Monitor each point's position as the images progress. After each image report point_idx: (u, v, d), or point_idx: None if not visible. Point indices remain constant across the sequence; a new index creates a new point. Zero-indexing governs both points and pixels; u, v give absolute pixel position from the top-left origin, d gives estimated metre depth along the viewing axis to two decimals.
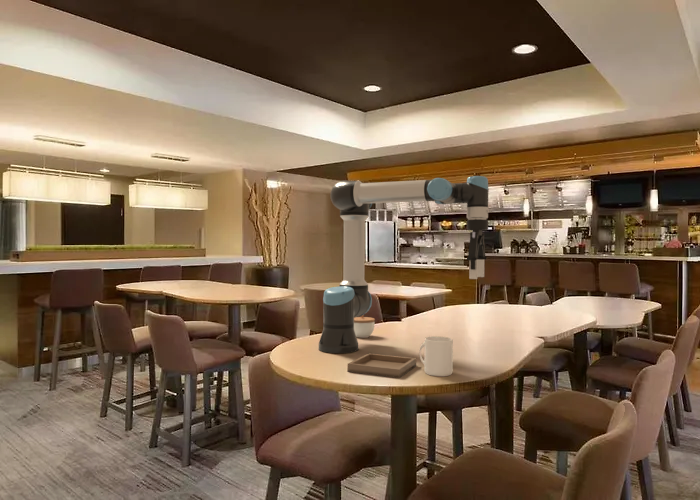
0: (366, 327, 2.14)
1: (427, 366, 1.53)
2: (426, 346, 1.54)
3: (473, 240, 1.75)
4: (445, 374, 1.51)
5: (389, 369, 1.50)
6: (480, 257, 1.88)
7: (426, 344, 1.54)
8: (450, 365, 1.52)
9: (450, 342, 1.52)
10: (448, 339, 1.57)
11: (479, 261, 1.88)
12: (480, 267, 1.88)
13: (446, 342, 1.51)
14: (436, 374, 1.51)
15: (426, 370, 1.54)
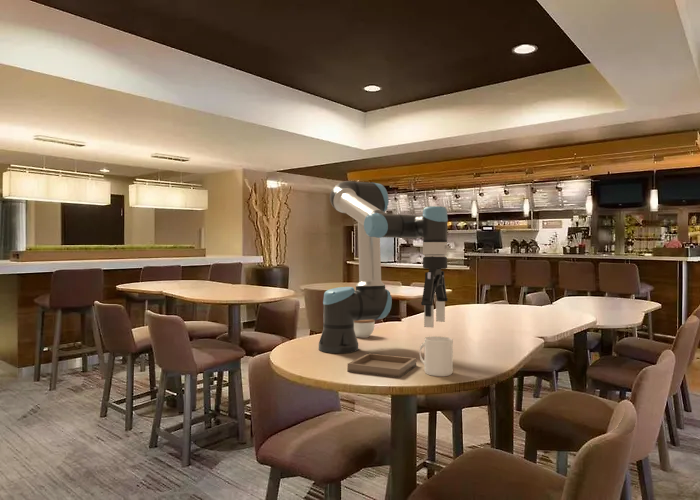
0: (366, 327, 2.14)
1: (427, 366, 1.53)
2: (426, 346, 1.54)
3: (428, 282, 1.50)
4: (445, 374, 1.51)
5: (389, 369, 1.50)
6: (440, 298, 1.63)
7: (426, 344, 1.54)
8: (450, 365, 1.52)
9: (450, 342, 1.52)
10: (448, 339, 1.57)
11: (439, 303, 1.62)
12: (440, 310, 1.62)
13: (446, 342, 1.51)
14: (436, 374, 1.51)
15: (426, 370, 1.54)
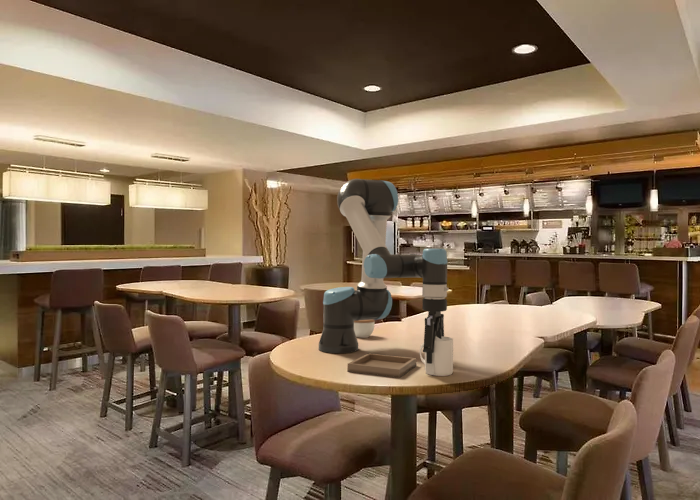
0: (366, 327, 2.14)
1: None
2: None
3: (428, 329, 1.50)
4: (446, 374, 1.52)
5: (389, 369, 1.50)
6: None
7: None
8: (451, 364, 1.53)
9: (451, 342, 1.52)
10: (448, 339, 1.57)
11: None
12: None
13: (447, 341, 1.52)
14: (437, 373, 1.51)
15: None
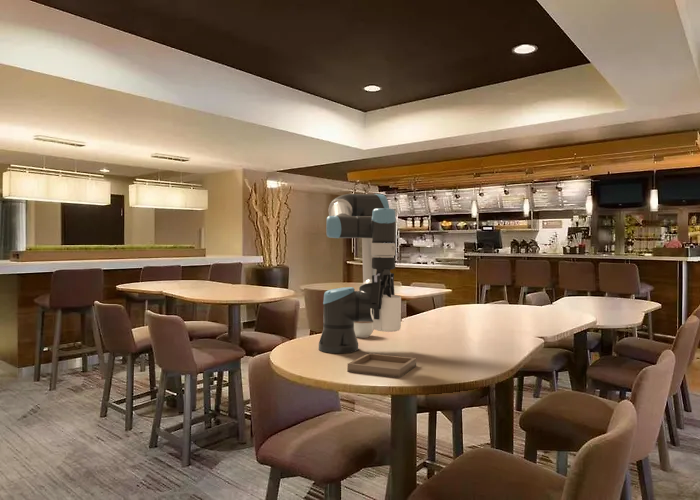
0: (366, 327, 2.14)
1: None
2: None
3: (375, 285, 1.54)
4: (392, 329, 1.56)
5: (389, 369, 1.50)
6: None
7: None
8: (398, 320, 1.57)
9: (398, 299, 1.57)
10: (397, 297, 1.62)
11: None
12: None
13: (394, 298, 1.56)
14: (384, 329, 1.56)
15: None
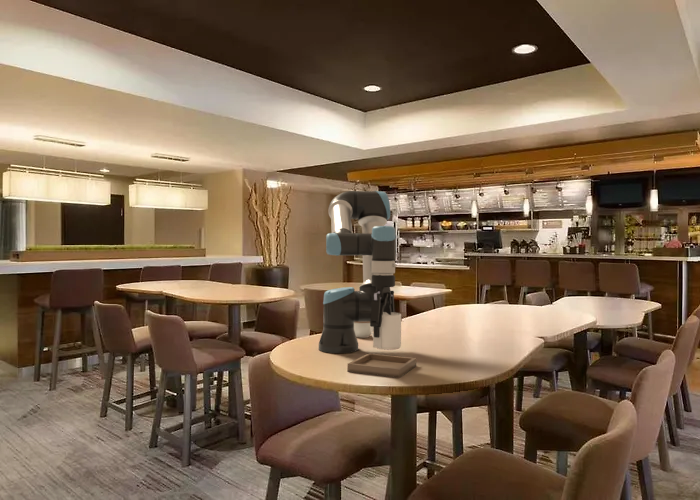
0: (366, 327, 2.14)
1: None
2: None
3: (375, 303, 1.54)
4: (393, 347, 1.56)
5: (389, 369, 1.50)
6: None
7: None
8: (398, 338, 1.57)
9: (398, 317, 1.57)
10: (397, 314, 1.62)
11: None
12: None
13: (394, 316, 1.56)
14: (384, 347, 1.56)
15: None
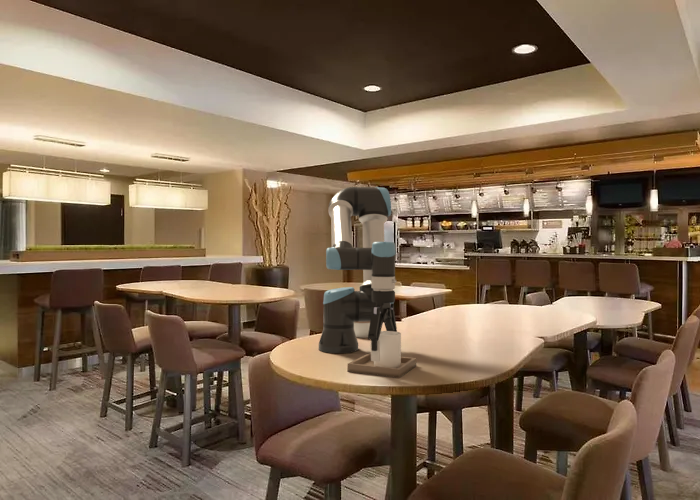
0: (366, 327, 2.14)
1: None
2: None
3: (374, 317, 1.54)
4: (392, 367, 1.56)
5: (389, 369, 1.50)
6: (390, 330, 1.67)
7: None
8: (398, 358, 1.57)
9: (398, 336, 1.57)
10: (397, 333, 1.62)
11: None
12: None
13: (394, 336, 1.56)
14: None
15: (375, 363, 1.58)
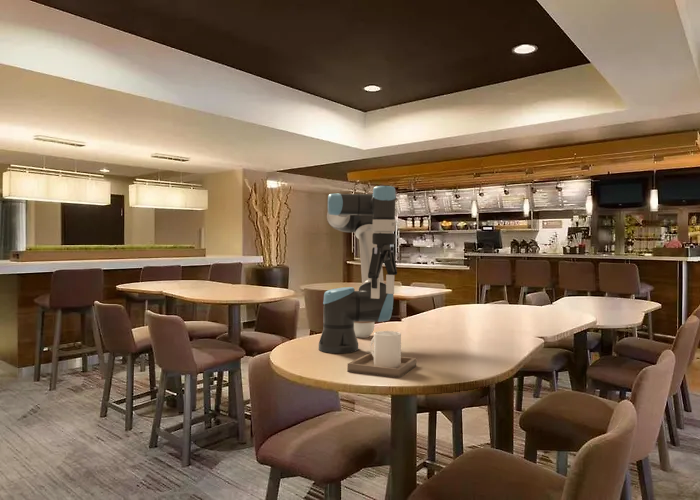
0: (366, 327, 2.14)
1: (375, 360, 1.58)
2: (375, 340, 1.58)
3: (375, 256, 1.61)
4: (392, 367, 1.56)
5: (389, 369, 1.50)
6: (390, 272, 1.75)
7: (375, 338, 1.58)
8: (398, 358, 1.57)
9: (398, 336, 1.57)
10: (397, 333, 1.62)
11: (389, 276, 1.74)
12: (390, 283, 1.74)
13: (394, 336, 1.56)
14: None
15: (375, 363, 1.58)
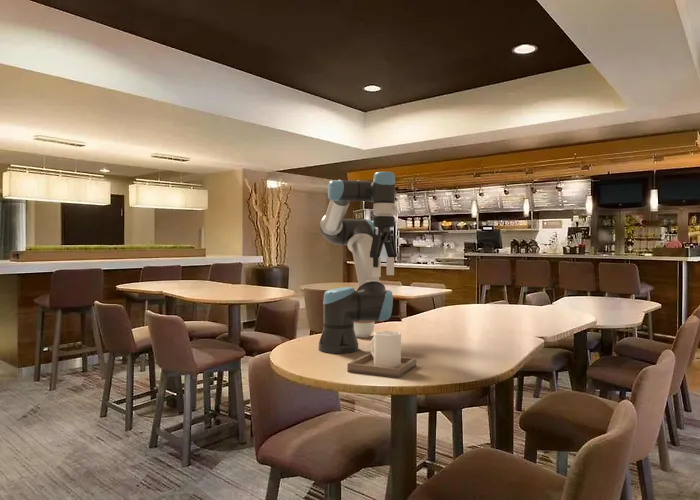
0: (366, 327, 2.14)
1: (375, 360, 1.58)
2: (375, 340, 1.58)
3: (376, 237, 1.71)
4: (392, 367, 1.56)
5: (389, 369, 1.50)
6: (390, 255, 1.84)
7: (375, 338, 1.58)
8: (398, 358, 1.57)
9: (398, 336, 1.57)
10: (397, 333, 1.62)
11: (389, 259, 1.83)
12: (390, 265, 1.83)
13: (394, 336, 1.56)
14: None
15: (375, 363, 1.58)
